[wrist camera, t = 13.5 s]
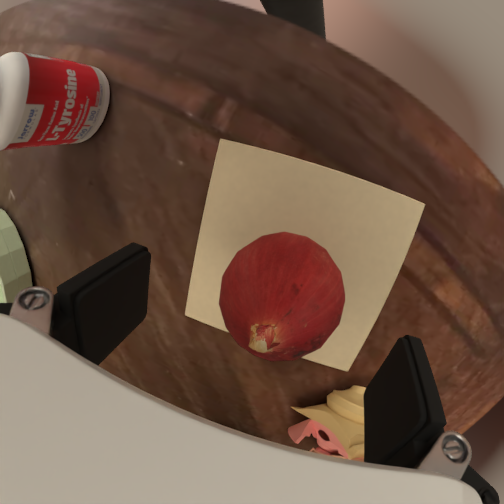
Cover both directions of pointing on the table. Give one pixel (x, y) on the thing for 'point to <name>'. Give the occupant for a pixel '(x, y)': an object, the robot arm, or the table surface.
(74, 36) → the table surface
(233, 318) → the onion
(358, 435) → the pink conch seashell
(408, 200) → the cream square tile
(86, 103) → the pill bottle
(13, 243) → the bowl
